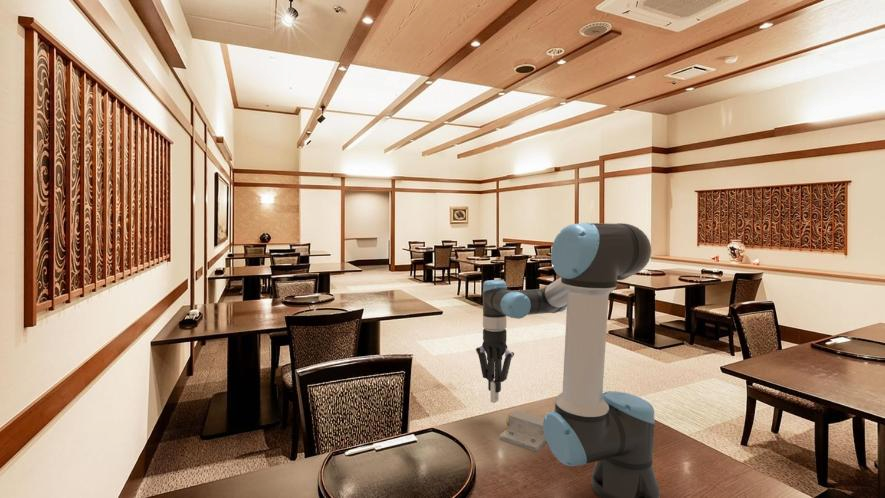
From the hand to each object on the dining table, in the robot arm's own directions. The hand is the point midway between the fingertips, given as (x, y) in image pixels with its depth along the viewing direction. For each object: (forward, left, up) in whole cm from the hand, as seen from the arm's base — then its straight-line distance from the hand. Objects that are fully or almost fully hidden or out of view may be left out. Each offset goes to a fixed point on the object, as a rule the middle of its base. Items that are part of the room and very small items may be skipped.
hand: (494, 401), depth 137 cm
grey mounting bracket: (-12, 0, -7) cm, 14 cm away
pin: (-12, 0, -7) cm, 14 cm away
